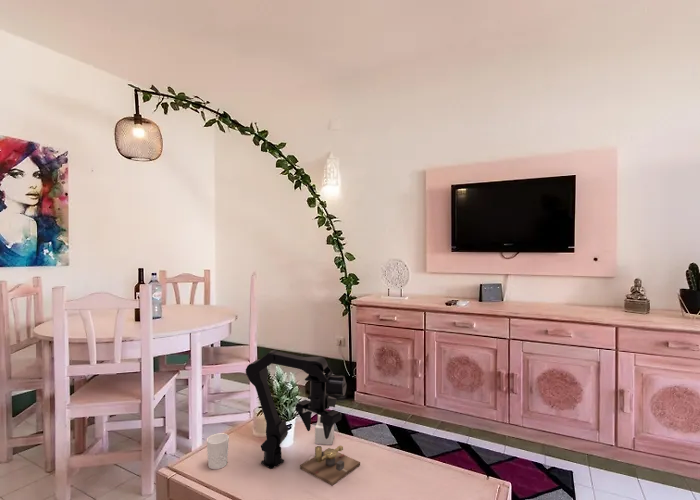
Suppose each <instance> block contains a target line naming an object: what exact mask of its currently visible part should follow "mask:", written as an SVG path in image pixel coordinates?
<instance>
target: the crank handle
mask: <svg viewBox="0 0 700 500" xmlns="http://www.w3.org/2000/svg"><path fill="white" fill-rule="evenodd" d="M314 447H315V448H314V451H315V453H314V457H315V461H316V462H318V463H321V462H323V461H324V460H326V459H334V458H336V453H337V452H342V451H344V446H343V445H338V446H337V447H336V448H330V449H328V448H327V450H326V449H325V450H324V451H325V455H324V456H323V457H322V452H323V450H322V449H323V447H322V445H321V446H320V445H316V446H314Z"/></svg>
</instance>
